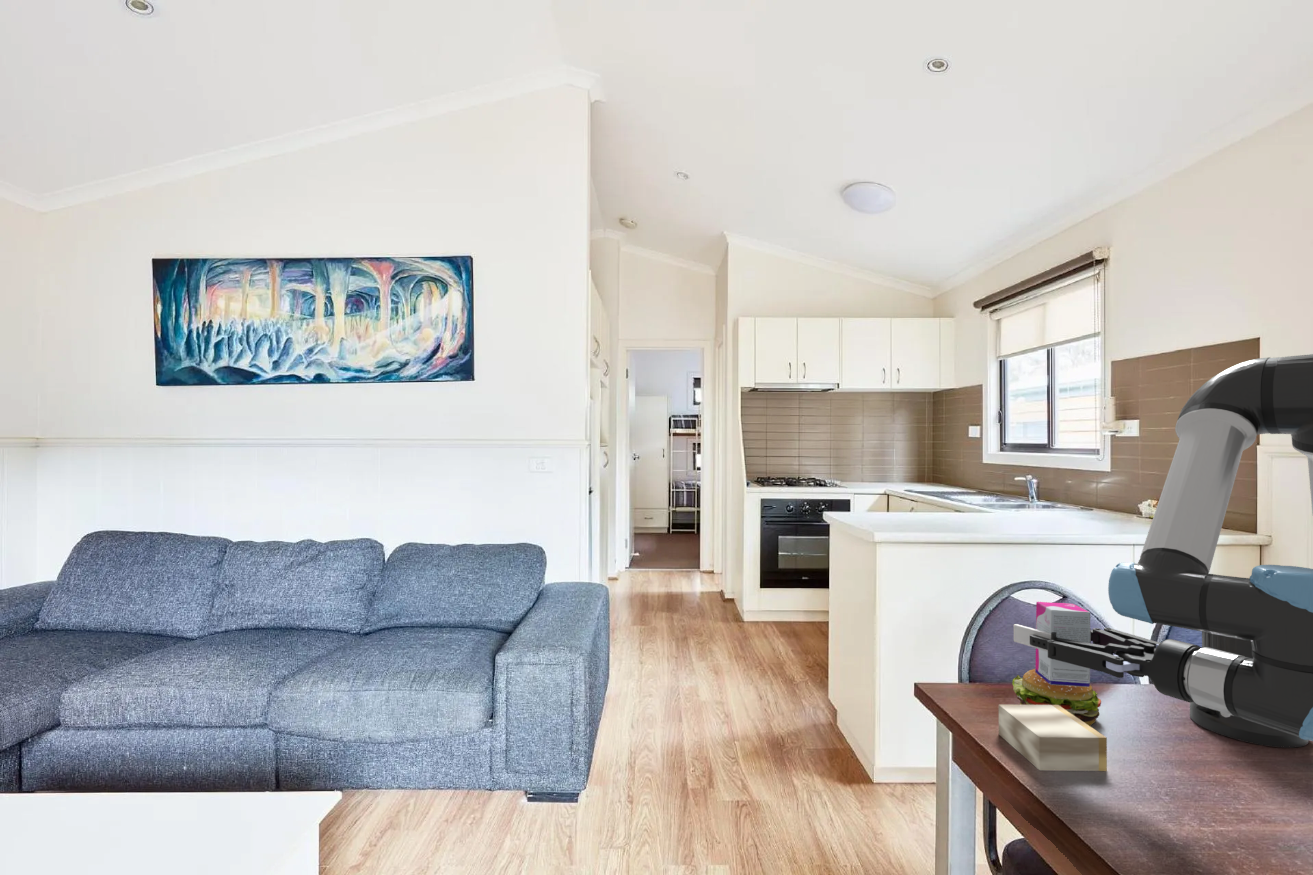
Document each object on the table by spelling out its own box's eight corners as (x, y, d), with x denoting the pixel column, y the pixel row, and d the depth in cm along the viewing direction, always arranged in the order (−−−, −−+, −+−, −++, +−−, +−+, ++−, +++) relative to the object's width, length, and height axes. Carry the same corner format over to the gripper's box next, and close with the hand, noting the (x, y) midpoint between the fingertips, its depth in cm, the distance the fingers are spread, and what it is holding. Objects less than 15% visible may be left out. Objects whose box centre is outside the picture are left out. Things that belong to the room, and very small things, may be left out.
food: (1021, 693, 127) (1021, 652, 127) (1107, 714, 117) (1107, 670, 117) (999, 714, 117) (999, 670, 117) (1091, 739, 107) (1091, 691, 107)
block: (1106, 770, 97) (1106, 737, 97) (1039, 770, 97) (1039, 737, 97) (1058, 734, 109) (1058, 704, 109) (998, 734, 109) (998, 704, 109)
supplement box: (1092, 687, 97) (1091, 611, 98) (1049, 685, 98) (1049, 610, 99) (1074, 673, 103) (1073, 602, 103) (1033, 671, 104) (1033, 600, 104)
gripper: (1153, 718, 80) (989, 661, 101) (1238, 690, 89) (1071, 643, 110) (1153, 658, 80) (989, 613, 101) (1238, 635, 89) (1071, 599, 110)
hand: (1032, 629), depth 105 cm, fingers closed on supplement box, 8 cm apart
